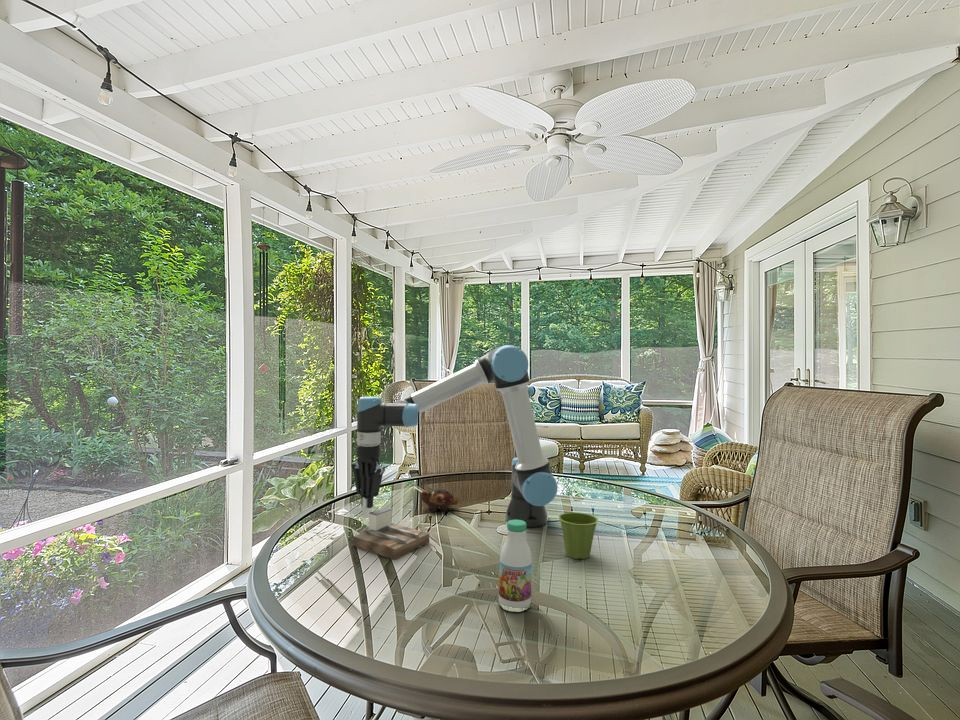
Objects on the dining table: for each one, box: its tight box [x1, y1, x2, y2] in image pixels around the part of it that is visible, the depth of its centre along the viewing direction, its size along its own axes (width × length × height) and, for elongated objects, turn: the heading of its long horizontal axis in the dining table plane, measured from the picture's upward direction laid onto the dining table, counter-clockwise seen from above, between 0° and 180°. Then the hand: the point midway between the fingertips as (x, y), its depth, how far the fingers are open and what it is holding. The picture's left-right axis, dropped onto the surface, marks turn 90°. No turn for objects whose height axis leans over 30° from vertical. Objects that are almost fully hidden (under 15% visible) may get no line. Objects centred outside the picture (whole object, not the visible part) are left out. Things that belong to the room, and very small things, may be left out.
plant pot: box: [558, 511, 599, 560], centre depth 149 cm, size 12×12×11 cm
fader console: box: [352, 522, 430, 560], centre depth 153 cm, size 17×16×4 cm
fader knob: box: [368, 506, 393, 533], centre depth 156 cm, size 3×7×6 cm, turn 148°
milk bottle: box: [498, 520, 533, 608], centre depth 117 cm, size 8×8×20 cm
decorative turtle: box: [420, 488, 460, 513], centre depth 190 cm, size 10×15×8 cm, turn 115°
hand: (366, 517), depth 159 cm, fingers closed
